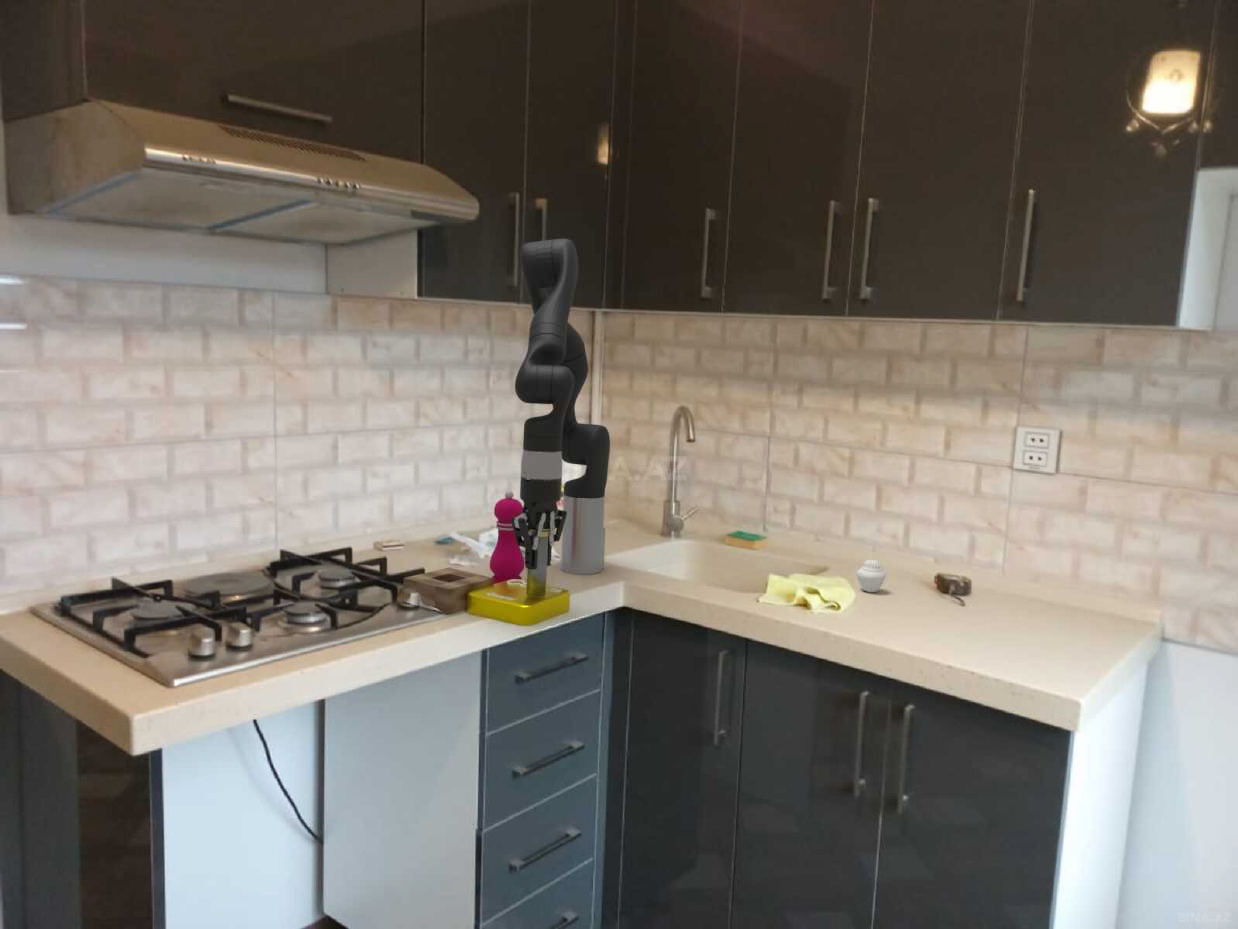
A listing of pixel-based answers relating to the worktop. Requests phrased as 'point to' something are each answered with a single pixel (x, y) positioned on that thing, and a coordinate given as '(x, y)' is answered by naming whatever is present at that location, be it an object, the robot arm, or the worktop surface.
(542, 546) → the metal pin
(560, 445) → the robot arm
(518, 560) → the pepper mill
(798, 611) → the worktop surface
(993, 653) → the worktop surface
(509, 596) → the element tile
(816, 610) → the worktop surface
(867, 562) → the white rounded jar
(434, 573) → the pin block
